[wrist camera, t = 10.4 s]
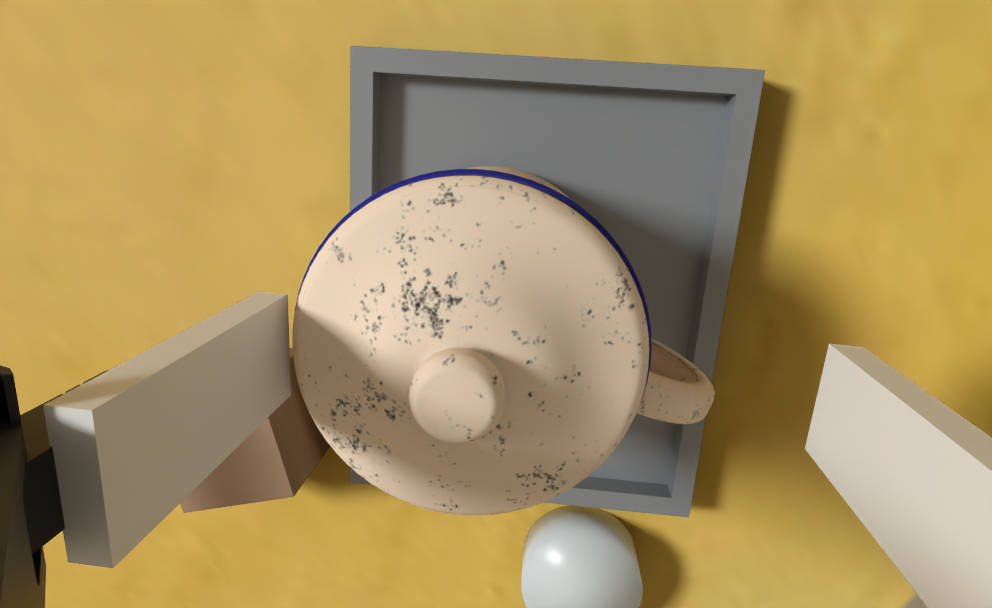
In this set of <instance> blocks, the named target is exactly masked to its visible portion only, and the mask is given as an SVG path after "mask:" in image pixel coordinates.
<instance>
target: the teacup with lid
mask: <svg viewBox="0 0 992 608" xmlns="http://www.w3.org/2000/svg"><path fill="white" fill-rule="evenodd" d="M293 357H294V366H295V371H296V376H297V380H298V384H299V387H300V390H301V393H302V396H303V399H304V401H305V404H306V406H307V408H308V411H309V413H310V415H311V417H312V418H313V420H314V422H315V424H316V426H317V428H318V429H319V431H320V432H321V434H322V435H323V437H324V438H325V440H326V441H327V442H328V443H329V445H330V446H331V447H332V448H333V450H334V451H335V452H336V453H337V454H338V455H339V456H340V457H341V458H342V460H343V461H344V462H345V463H346V464H347V465H348V466H350V467H351V468H352V469H353V470H354V471H355V472H356V473H358V474H359V475H360V476H361V477H363V478H364V479H366V480H367V481H368V482H370V483H371V484H372V485H374V486H376V487H377V488H379V489H381V490H382V491H384V492H386V493H388V494H390V495H392V496H394V497H396V498H398V499H400V500H402V501H405V502H408V503H410V504H413V505H415V506H419V507H422V508H426V509H429V510H433V511H438V512H443V513H450V514H459V515H493V514H500V513H507V512H512V511H517V510H521V509H525V508H528V507H531V506H534V505H537V504H540V503H543V502H545V501H547V500H550V499H552V498H554V497H556V496H558V495H560V494H562V493H564V492H565V491H567V490H569V489H571V488H572V487H574V486H575V485H577V484H578V483H579V482H581V481H582V480H584V479H585V478H586V477H588V476H589V475H590V474H591V473H592V472H594V471H595V470H596V469H597V468H598V467H599V466H600V465H601V464H602V463H603V462H604V461H605V460H606V459H607V458H608V457H609V456H610V454H611V453H612V452H613V451H614V450H615V448H616V447H617V446H618V445H619V443H620V442H621V440H622V438H623V437H624V435H625V434H626V432H627V431H628V429H629V427H630V425H631V423H632V421H633V419H634V417H635V415H636V413H637V414H640V415H643V416H646V417H649V418H652V419H656V420H659V421H663V422H667V423H673V424H692V423H696V422H699V421H701V420H702V419H703V418H704V417H705V416H706V415H707V413H708V411H709V409H710V407H711V405H712V403H713V401H714V397H715V391H714V388H713V385H712V384H711V382H710V380H709V379H708V378H707V377H706V375H705V374H704V373H703V372H702V371H701V370H700V369H699V368H697V367H696V366H695V365H694V364H693V363H691V362H690V361H689V360H687V359H686V358H684V357H683V356H681V355H680V354H678V353H677V352H675V351H674V350H672V349H670V348H669V347H667V346H665V345H663V344H662V343H660V342H658V341H656V340H654V339H652V338H651V326H650V319H649V312H648V308H647V304H646V301H645V297H644V293H643V291H642V288H641V285H640V283H639V280H638V278H637V276H636V274H635V272H634V270H633V267H632V265H631V263H630V262H629V260H628V258H627V257H626V255H625V254H624V252H623V251H622V249H621V247H620V246H619V245H618V244H617V242H616V241H615V240H614V238H613V237H612V236H611V235H610V233H609V232H608V231H607V230H606V229H605V228H604V227H603V226H602V225H601V224H600V223H599V222H598V221H597V220H596V219H595V218H594V217H593V216H592V215H590V214H589V213H588V212H587V211H586V210H584V209H583V208H582V207H581V206H579V205H578V204H576V203H575V202H573V201H572V200H571V199H570V198H569V197H568V196H567V195H565V194H564V193H563V192H562V191H561V190H559V189H558V188H557V187H555V186H554V185H552V184H551V183H549V182H547V181H545V180H543V179H542V178H540V177H537V176H535V175H533V174H530V173H528V172H524V171H521V170H518V169H513V168H508V167H499V166H480V167H471V168H466V169H453V170H443V171H436V172H431V173H427V174H422V175H418V176H415V177H412V178H409V179H406V180H403V181H400V182H398V183H396V184H393V185H391V186H389V187H387V188H385V189H383V190H381V191H379V192H378V193H376V194H374V195H372V196H370V197H369V198H368V199H366V200H365V201H363V202H362V203H361V204H359V205H358V206H356V207H355V208H354V209H353V210H352V211H350V212H349V213H348V214H347V215H346V216H345V217H344V218H343V219H342V220H341V221H340V222H339V223H338V224H337V225H336V226H335V227H334V228H333V229H332V231H331V232H330V233H329V234H328V235H327V237H326V238H325V240H324V241H323V242H322V244H321V245H320V246H319V248H318V250H317V252H316V253H315V255H314V257H313V258H312V260H311V262H310V264H309V266H308V269H307V271H306V273H305V275H304V278H303V281H302V284H301V287H300V290H299V293H298V298H297V303H296V307H295V315H294V323H293Z"/></svg>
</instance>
